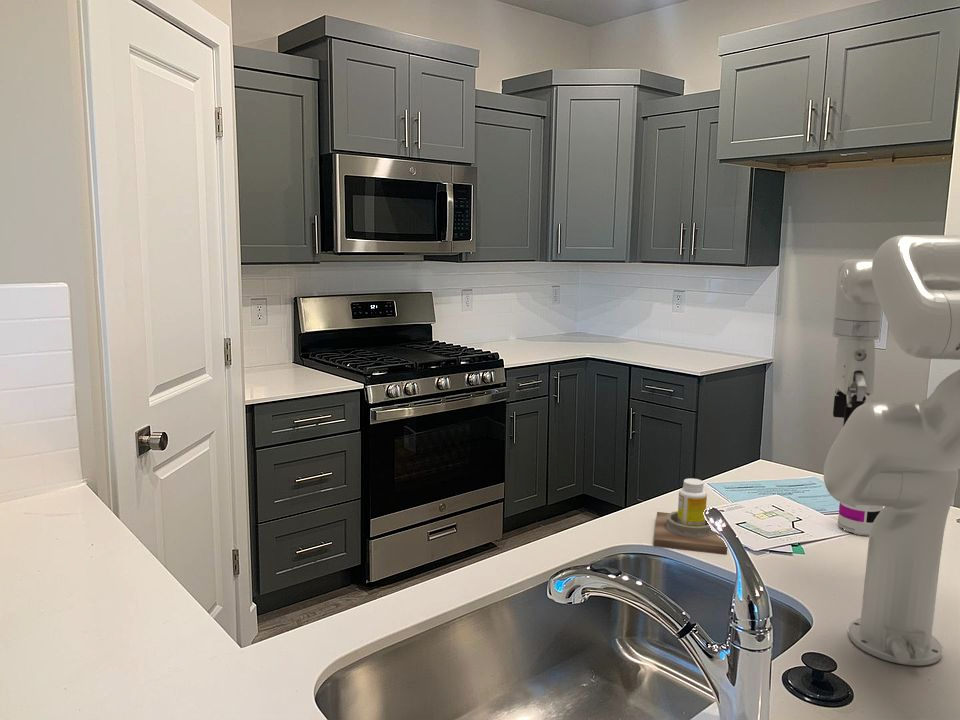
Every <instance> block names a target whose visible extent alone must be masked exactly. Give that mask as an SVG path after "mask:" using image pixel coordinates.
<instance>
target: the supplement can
mask: <svg viewBox="0 0 960 720" xmlns="http://www.w3.org/2000/svg"><path fill="white" fill-rule="evenodd" d="M838 506H839V507H838V516H837V517H838V518H837V524H838V526H839V527H840V528H841V527H842V528H843V529H845V530H847V531H849V532H852V533H854V535H856V534H857V536H865V537H869V534H870V529H871V526H872V524H873V522H874V520H875V518H876V517H877V515H878V514H879V513H880V512H881V510H882V509H883V508H884V506H865V505H851V504H845V503H842V502H839V505H838ZM842 528H841V529H842ZM843 529H842V530H843ZM845 530H844V531H845ZM847 531H846V532H847ZM849 532H848V533H849ZM852 533H851V534H852Z"/></svg>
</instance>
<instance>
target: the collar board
mask: <svg viewBox="0 0 960 720" xmlns="http://www.w3.org/2000/svg"><path fill="white" fill-rule="evenodd" d="M677 522H678V510H676V511H672V512H664V511H663V512H661V511H656V519H655V529H654V535H653V536H654V537H653V547H659V548H668V549H676V550H683V551H684V550H685V551H694V552H703V553H710V554H711V553H712V554H720V555H727V554H728V546H727V547H726V545H725V543H724V541H723V540H722V539H721V538H719V537H718V536H717V535H716V534H715V533H714V532H713V531H712V530H711V528H710V526H709V524H708V523H707V521H706V520H705V526H699V527H694V526H685V525H682V524H679V523H677Z"/></svg>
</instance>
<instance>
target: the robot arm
mask: <svg viewBox="0 0 960 720" xmlns="http://www.w3.org/2000/svg"><path fill="white" fill-rule="evenodd" d="M836 277H837V279H836V280H837V281H836V292H835V303H834V314H833V322H832V325H833V326H832V337H833V338H837V344H836V353H835V355H836V356H835V364H834V374H833V376H834V381H833V382H834V385H835V387H836V388H835V392H834V393H835V395H834V397H833V398H834V400H833V409H832V410H833V411H832V417H834V418H842V419H843V423H842V424H843V425H842V428H841V430H840V431H839V433H838V434H837V437H836V438H835V440H834V442H833V443H832V445H831V446H830V448H829V451H828V453H827V456H826V458H825V461H824V465H823V483H824V486H825V489H826V490H827V492H828V494H829V495H830V496H831V497H832V498H833V499H835V500H836V501H838V502H839V503H840V502H842V503H845V504H851V505H865V506H883V509H882V510H881V512H880V513H879V514H878V515H877V517H876V518H875V520H874V522H873V524H872V526H871V529H870V534H869V536H868V543H867V544H868V545H867V554H866V564H865V573H864V574H865V575H864V584H863V585H864V586H863V593H862V595H863V596H862V603H861V604H862V605H861V614H860V615H861V616H860V618H858V619H855V620H853V621H852V622H850V624H849V625H848V631H847V633H848V637H849V639H850V640H851V642H853V644H854V645H855V646H856V647H857V648H859V649H861V650H862V651H864V652H865V653H867V654H869V655H871V656H874V657H875V658H878V659H880V660H884V661H887V662H890V663H895V664H899V665H905V666H918V667H919V666H929V665H933V664H935V663H937V662H939V661H940V660H941V658H942V655H943V646H942V644H941V643H940V641H939V640H938V639H937V638H936V637H935V636H934V635H933V634H932V633H933V625H934V616H935V611H936V610H935V609H936V600H937V599H936V598H937V591H938V582H939V574H940V566H941V565H940V564H941V558H942V557H941V556H942V549H943V542H944V534H945V530H946V529H945V528H946V524H947V519H948V517H949V516H948V515H949V512H950V508H951V506H952V504H953V503H952V502H953V500H954V499H955V495H956V491H957V487H958V482H959V469H960V368H959V369H957V370H955V371H954V372H952V373H951V374H949V375H948V376H946V377H945V378H944V379H943V380H941V381H940V382H939V383H938V385H937V386H936V387H935V389H934V390H933V392H932V393H931V394H930V395H929V397H927V398H925V399H923V400H913V401H912V400H911V401H907V400H874V401H873V400H871V401H868V402H867V401H866V400H867V397H866V396H868V397H870V396H872V395H873V394H874V385H875V384H874V383H875V368H876V367H875V365H876V344H875V341H877V340H880V334H881V324H882V323H881V322H882V313H883V314H884V317H885V319H886V321H887V323H888V326H889V328H890V331H891V333H892V335H893V337H894V340H895V342H896V344H897V345H898V347H899V348H900V349H901V350H902V351H903V352H904V353H906V354H907V355H909V356H910V357H911V356H912V357H915V358H918V359H925V360H927V359H928V360H950V361H951V360H953V361H954V360H957V361H960V235H959V234H958V235H955V234H953V235H951V234H950V235H946V234H945V235H944V234H940V235H939V234H937V235H936V234H931V235H930V234H903V235H902V234H901V235H896V236H892V237H891V238H888V239H887V240H885V241H884V242H883V243H882V244H881V245H880V246H879V248H878V249H877V251H876V252H875V254H874V257H873V258H872V259H871V258H869V259H868V258H865V259H863V258H861V259H859V258H858V259H856V258H855V259H852V258H850V259H845V260H843V261H841V262H840V263H839V265H838V268H837V276H836Z"/></svg>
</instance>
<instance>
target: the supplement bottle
mask: <svg viewBox="0 0 960 720" xmlns="http://www.w3.org/2000/svg"><path fill="white" fill-rule="evenodd" d="M707 494H708V493H707V491H706V490H704V481H703V480H702V479H698V478H685V479H684V480H683V485H682V488H680V489H679V491H678V507H677V511H678V522H677V523H679V524H682V525H685V526H694V527H699V526H705V518H704V515H703V512H704V510H705V509H706V510H707V501H708V499H707V497H708V495H707Z"/></svg>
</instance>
